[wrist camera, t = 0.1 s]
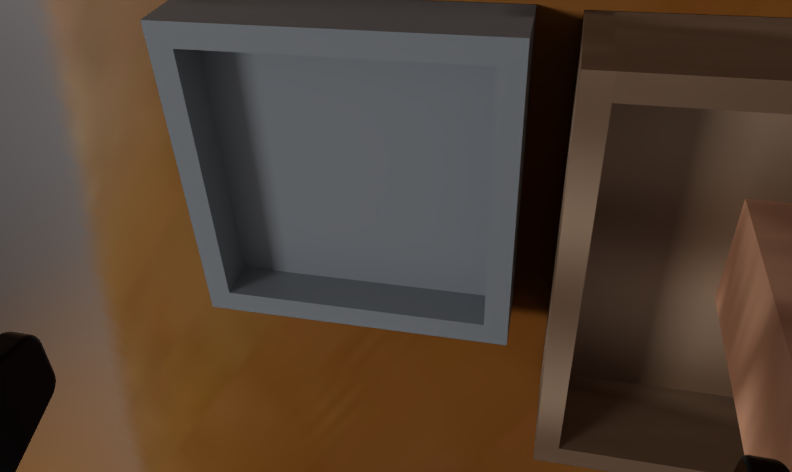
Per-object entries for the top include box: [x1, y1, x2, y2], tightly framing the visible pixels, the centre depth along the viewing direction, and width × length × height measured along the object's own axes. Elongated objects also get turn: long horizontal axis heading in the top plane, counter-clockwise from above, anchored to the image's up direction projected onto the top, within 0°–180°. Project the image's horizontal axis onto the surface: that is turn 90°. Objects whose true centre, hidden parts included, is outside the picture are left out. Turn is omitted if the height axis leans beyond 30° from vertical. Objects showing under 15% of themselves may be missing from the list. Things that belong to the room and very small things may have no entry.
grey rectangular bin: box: [141, 0, 537, 345], centre depth 23 cm, size 11×11×2 cm
